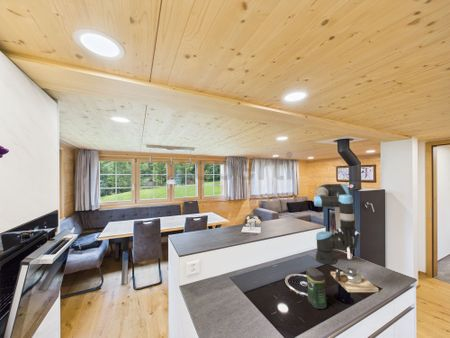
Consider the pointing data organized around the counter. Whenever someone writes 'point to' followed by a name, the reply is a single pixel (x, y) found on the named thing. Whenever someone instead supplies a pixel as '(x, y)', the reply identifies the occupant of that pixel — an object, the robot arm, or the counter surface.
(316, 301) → the coffee jar
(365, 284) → the stand
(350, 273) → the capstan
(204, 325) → the counter surface
